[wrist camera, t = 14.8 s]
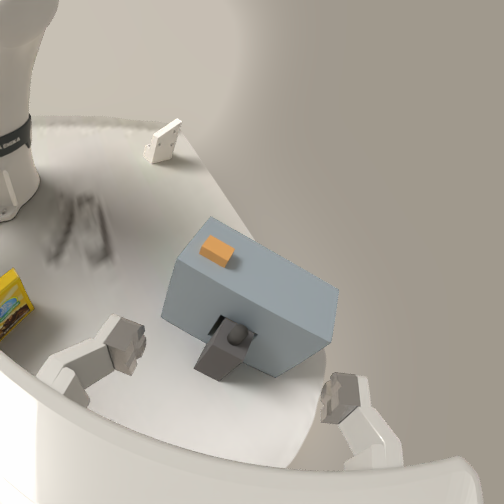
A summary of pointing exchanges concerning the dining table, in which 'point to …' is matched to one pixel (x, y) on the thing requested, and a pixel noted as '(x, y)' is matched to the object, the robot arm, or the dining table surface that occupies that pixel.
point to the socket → (250, 298)
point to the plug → (224, 350)
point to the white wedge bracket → (163, 143)
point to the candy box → (12, 302)
